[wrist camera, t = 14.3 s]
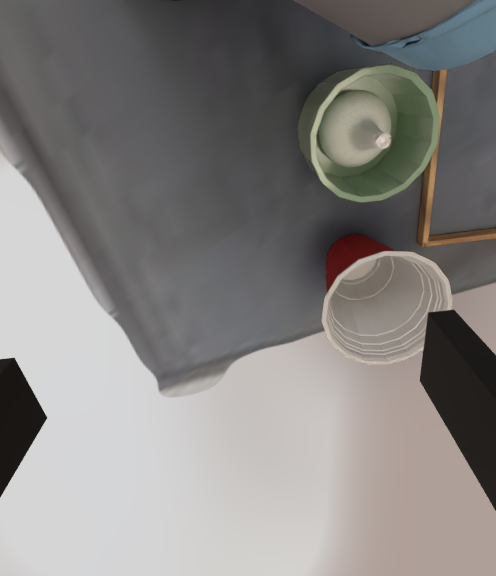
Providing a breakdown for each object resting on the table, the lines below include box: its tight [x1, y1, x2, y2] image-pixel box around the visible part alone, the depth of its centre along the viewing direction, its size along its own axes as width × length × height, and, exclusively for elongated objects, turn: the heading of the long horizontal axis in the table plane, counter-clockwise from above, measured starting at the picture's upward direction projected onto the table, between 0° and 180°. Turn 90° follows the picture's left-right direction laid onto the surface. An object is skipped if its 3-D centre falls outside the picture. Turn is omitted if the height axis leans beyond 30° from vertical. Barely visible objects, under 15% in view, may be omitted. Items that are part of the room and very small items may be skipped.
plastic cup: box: [322, 234, 453, 365], centre depth 36 cm, size 11×11×12 cm
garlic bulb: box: [319, 90, 392, 167], centre depth 31 cm, size 6×6×8 cm
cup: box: [298, 64, 440, 203], centre depth 32 cm, size 10×10×8 cm
